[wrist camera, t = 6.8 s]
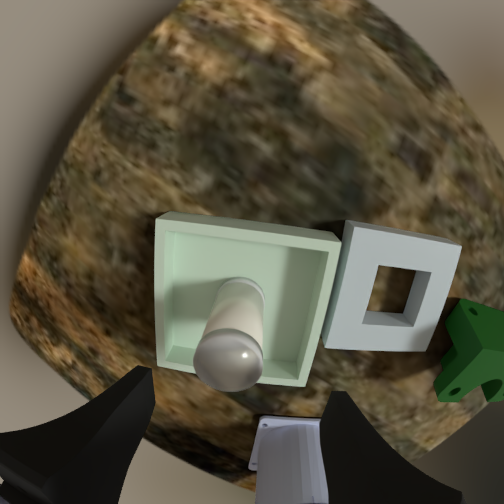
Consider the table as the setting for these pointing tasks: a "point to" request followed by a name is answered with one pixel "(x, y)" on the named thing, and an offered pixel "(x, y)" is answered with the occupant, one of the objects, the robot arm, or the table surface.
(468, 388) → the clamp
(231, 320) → the cylinder
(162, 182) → the table surface
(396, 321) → the grey square frame
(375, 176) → the table surface
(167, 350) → the parts tray
